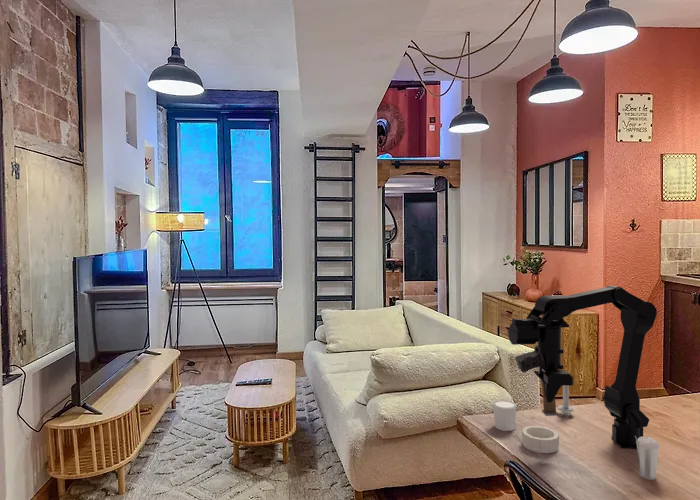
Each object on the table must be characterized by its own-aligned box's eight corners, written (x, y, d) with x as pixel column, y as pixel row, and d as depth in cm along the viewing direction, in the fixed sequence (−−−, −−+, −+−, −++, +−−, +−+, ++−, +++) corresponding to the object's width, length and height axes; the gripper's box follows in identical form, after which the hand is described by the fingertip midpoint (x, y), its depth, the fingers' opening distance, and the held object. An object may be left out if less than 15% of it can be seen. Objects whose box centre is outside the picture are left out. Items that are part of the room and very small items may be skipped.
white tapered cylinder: (518, 432, 138) (518, 408, 138) (494, 431, 139) (493, 407, 139) (515, 423, 145) (515, 400, 144) (491, 421, 146) (491, 399, 146)
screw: (577, 415, 150) (569, 418, 147) (562, 410, 154) (554, 414, 151) (576, 374, 149) (568, 377, 147) (562, 371, 153) (554, 374, 150)
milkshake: (628, 472, 114) (628, 431, 114) (649, 471, 114) (649, 430, 114) (641, 482, 109) (641, 440, 109) (663, 481, 110) (663, 438, 110)
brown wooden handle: (542, 411, 129) (540, 380, 128) (554, 410, 128) (552, 379, 128) (545, 415, 125) (543, 383, 125) (558, 415, 125) (556, 383, 125)
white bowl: (552, 438, 133) (552, 426, 133) (563, 454, 124) (563, 440, 124) (518, 437, 134) (518, 425, 134) (527, 452, 125) (526, 439, 125)
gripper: (509, 335, 136) (509, 389, 137) (528, 351, 118) (527, 413, 118) (549, 336, 135) (549, 390, 136) (574, 352, 117) (573, 415, 117)
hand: (548, 401), depth 127 cm, fingers closed on brown wooden handle
